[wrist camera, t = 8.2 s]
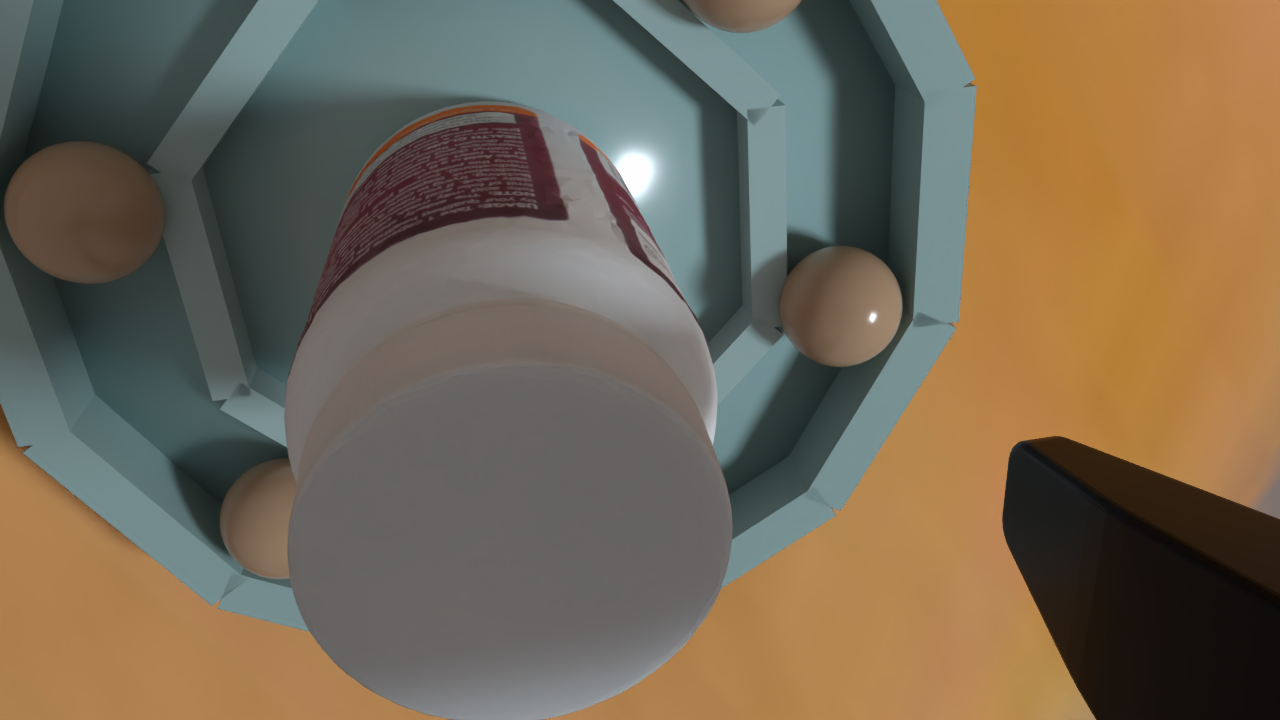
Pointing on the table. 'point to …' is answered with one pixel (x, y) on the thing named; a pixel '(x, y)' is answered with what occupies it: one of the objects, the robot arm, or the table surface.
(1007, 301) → the table surface
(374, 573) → the pill bottle
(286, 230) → the tray
